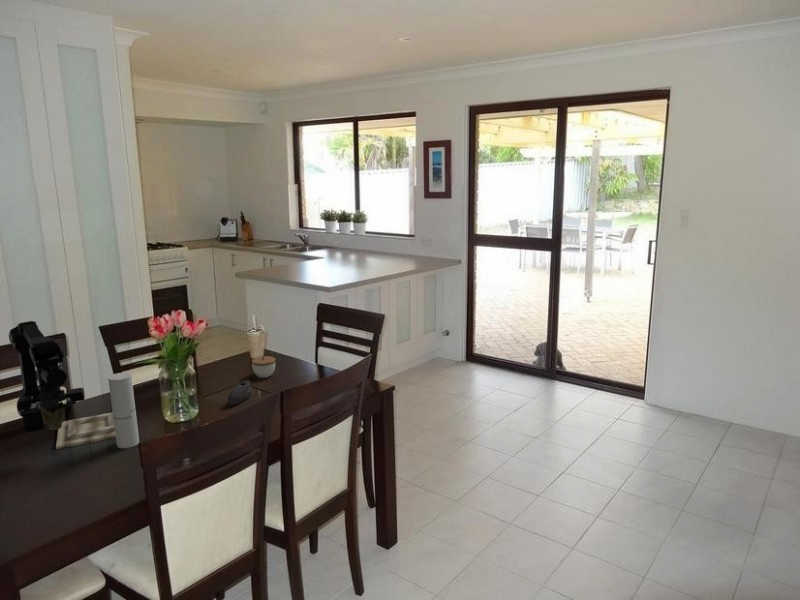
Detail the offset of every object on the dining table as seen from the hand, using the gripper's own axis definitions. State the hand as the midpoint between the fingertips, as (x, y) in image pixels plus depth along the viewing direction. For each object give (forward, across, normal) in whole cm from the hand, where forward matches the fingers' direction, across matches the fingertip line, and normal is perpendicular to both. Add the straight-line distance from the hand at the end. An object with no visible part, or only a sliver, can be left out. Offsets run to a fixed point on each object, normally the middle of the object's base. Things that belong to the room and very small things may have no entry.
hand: (55, 422), depth 188 cm
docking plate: (+12, +10, +16) cm, 22 cm away
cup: (+2, 0, 0) cm, 2 cm away
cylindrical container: (+12, +21, -2) cm, 24 cm away
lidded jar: (+12, +81, +42) cm, 92 cm away
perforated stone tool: (+12, +64, +17) cm, 67 cm away
